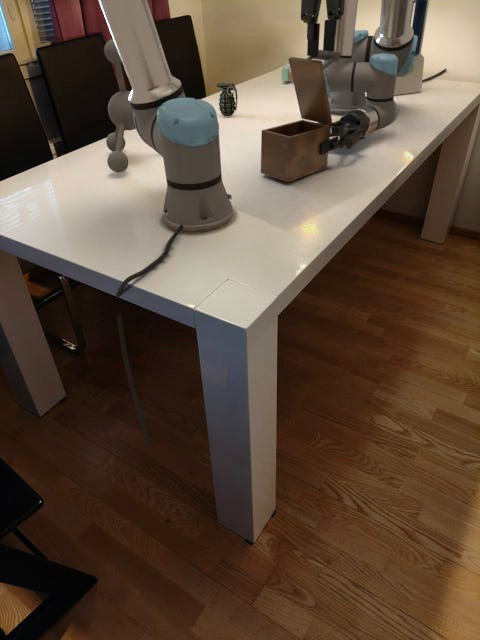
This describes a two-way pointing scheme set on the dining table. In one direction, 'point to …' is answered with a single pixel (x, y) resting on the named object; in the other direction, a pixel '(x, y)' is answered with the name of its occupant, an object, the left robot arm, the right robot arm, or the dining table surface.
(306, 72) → the lid
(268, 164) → the chest
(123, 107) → the molecular model
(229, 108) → the grenade
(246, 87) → the dining table surface
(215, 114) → the left robot arm
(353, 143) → the right robot arm
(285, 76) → the decorative block
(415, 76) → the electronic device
